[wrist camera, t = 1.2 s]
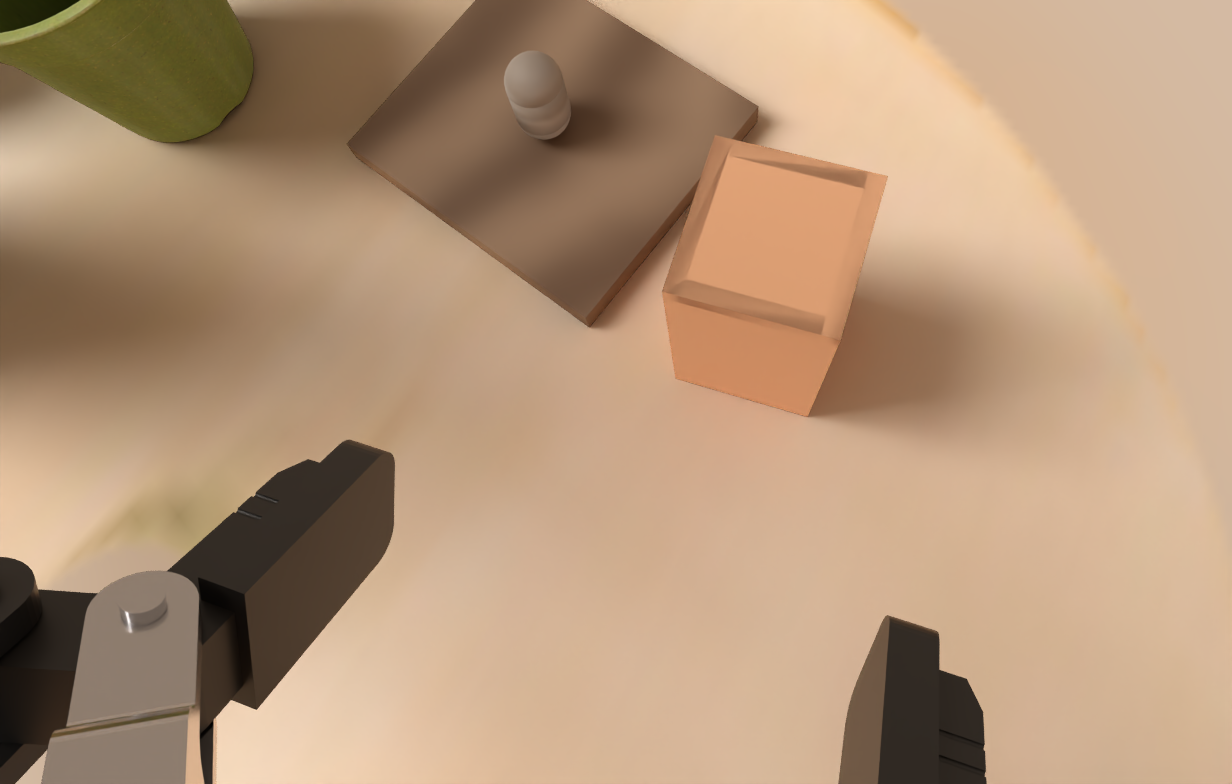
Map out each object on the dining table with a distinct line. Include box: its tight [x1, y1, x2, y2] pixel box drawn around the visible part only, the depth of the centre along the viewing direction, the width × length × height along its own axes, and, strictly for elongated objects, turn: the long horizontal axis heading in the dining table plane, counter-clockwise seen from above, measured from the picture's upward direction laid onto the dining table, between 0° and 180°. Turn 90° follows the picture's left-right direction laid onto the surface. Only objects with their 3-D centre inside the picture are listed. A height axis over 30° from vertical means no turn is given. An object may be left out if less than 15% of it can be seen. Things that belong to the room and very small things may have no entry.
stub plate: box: [347, 0, 758, 327], centre depth 38 cm, size 14×12×6 cm
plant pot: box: [0, 0, 253, 142], centre depth 39 cm, size 12×12×11 cm
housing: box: [662, 135, 888, 417], centre depth 33 cm, size 6×6×10 cm
